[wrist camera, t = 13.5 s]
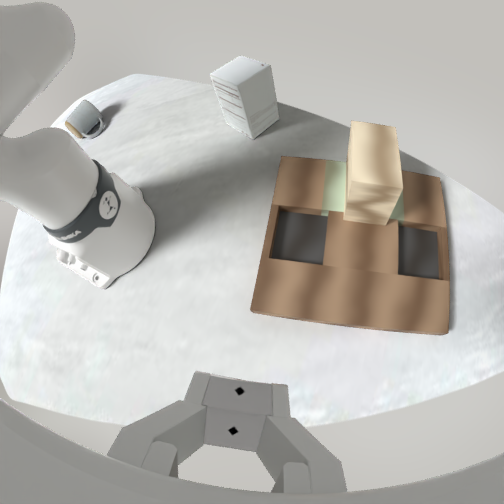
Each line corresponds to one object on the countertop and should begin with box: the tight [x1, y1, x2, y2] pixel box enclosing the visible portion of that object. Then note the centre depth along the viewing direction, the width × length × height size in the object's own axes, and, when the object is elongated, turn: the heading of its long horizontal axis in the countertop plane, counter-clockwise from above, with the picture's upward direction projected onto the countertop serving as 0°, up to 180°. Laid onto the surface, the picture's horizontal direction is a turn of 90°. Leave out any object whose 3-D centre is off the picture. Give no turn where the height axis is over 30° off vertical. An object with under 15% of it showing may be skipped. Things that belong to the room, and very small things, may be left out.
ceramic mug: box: [65, 100, 104, 138], centre depth 58 cm, size 11×8×8 cm
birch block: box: [343, 121, 403, 226], centre depth 35 cm, size 6×10×9 cm, turn 168°
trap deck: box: [250, 156, 450, 335], centre depth 37 cm, size 26×24×2 cm
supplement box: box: [209, 56, 280, 139], centre depth 45 cm, size 7×7×13 cm
